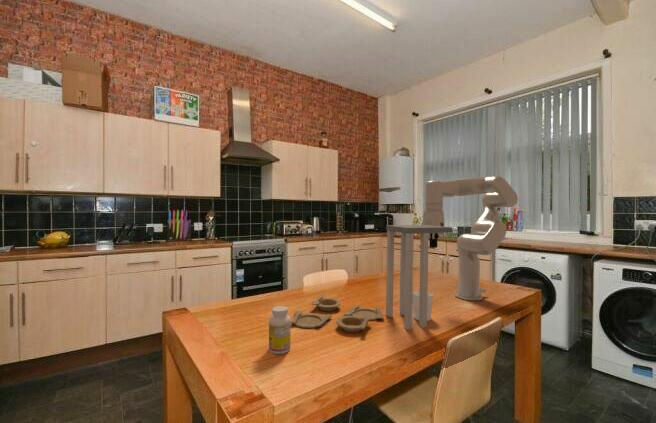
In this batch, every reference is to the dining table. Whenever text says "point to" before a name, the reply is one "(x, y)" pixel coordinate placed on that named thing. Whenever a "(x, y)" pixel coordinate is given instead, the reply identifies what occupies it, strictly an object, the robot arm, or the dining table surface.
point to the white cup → (416, 304)
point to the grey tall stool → (409, 270)
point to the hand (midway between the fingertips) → (433, 247)
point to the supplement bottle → (279, 331)
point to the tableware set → (346, 322)
